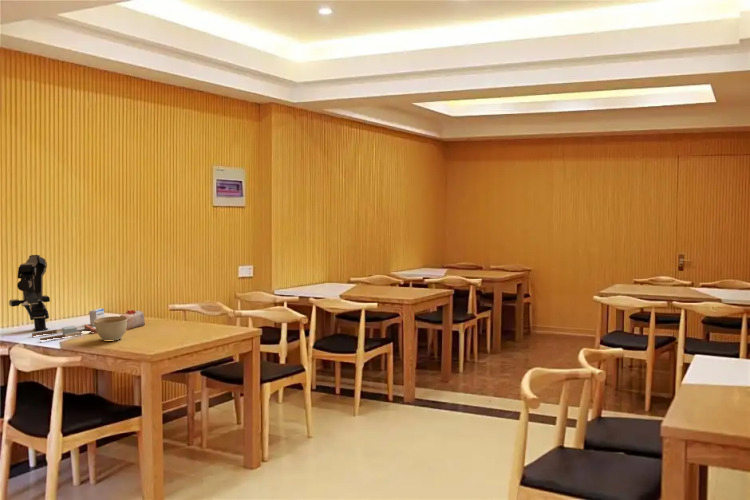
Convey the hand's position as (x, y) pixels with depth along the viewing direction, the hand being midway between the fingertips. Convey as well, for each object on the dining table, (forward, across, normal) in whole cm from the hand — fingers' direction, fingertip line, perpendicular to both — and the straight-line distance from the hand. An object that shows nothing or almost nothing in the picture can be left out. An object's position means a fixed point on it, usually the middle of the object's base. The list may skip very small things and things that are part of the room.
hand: (31, 316), depth 372 cm
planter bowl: (+11, +29, -38) cm, 49 cm away
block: (+11, +16, -9) cm, 22 cm away
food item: (+11, +47, -16) cm, 51 cm away
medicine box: (+11, +36, +6) cm, 38 cm away
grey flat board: (+11, +14, -8) cm, 20 cm away
